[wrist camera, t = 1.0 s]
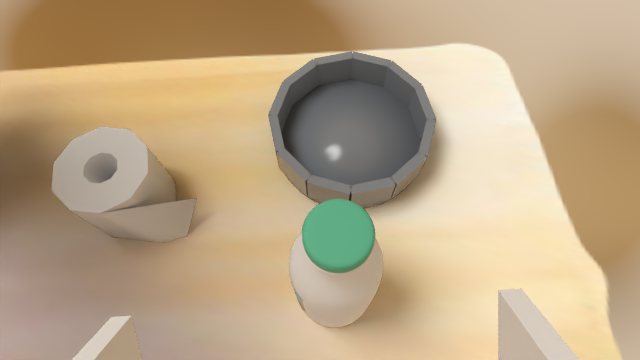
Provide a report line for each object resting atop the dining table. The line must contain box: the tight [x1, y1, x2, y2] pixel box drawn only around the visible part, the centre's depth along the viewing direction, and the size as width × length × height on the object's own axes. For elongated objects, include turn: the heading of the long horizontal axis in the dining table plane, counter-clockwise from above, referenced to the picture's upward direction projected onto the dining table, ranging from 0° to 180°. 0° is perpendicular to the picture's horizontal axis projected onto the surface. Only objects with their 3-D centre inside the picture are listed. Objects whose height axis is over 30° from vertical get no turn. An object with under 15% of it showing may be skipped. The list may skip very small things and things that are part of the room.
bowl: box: [269, 52, 436, 208], centre depth 49 cm, size 18×18×5 cm
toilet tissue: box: [52, 127, 197, 243], centre depth 45 cm, size 9×13×9 cm
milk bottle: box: [289, 199, 383, 327], centre depth 35 cm, size 8×8×20 cm
